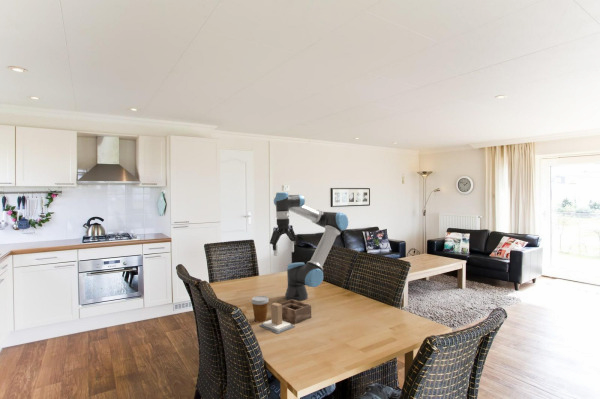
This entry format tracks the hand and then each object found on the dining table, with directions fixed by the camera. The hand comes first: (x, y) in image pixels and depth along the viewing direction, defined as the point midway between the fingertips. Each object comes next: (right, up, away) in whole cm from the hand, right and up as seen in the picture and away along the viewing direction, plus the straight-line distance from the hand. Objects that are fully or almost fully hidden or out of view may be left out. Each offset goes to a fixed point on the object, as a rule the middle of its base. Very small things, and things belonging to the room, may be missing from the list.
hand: (284, 253), depth 198 cm
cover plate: (-3, -34, -24) cm, 42 cm away
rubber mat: (-3, -34, -24) cm, 42 cm away
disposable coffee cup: (-12, -34, -15) cm, 39 cm away
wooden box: (+6, -34, -12) cm, 36 cm away
